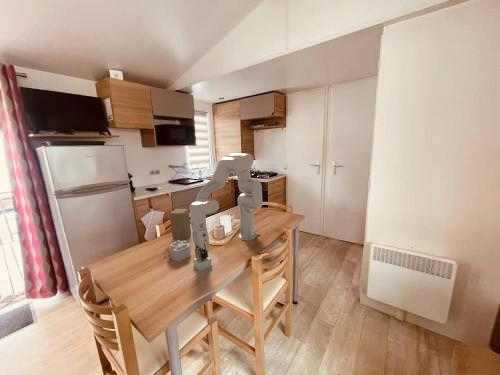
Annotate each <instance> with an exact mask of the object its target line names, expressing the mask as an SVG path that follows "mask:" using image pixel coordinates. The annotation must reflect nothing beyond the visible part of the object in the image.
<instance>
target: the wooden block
mask: <svg viewBox="0 0 500 375" xmlns="http://www.w3.org/2000/svg"><path fill="white" fill-rule="evenodd" d="M169 220H170V227H171V228H170V229H171V236H172V240H174V241H178V240H179V241H186V240H187V239H188V238H189V237H190V236H191V235H192V227H191V218H190V208H175V209H173V210H172V211H171V212H169Z"/></svg>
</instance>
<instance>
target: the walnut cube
mask: <svg viewBox="0 0 500 375" xmlns="http://www.w3.org/2000/svg"><path fill="white" fill-rule="evenodd" d="M204 249H205V248H203V250H204ZM201 253H202V251H201V248H200V247H198V248H194V255H195V257H194V258H197V259H198V260H199V261H201V260H202V257H201ZM208 257H209V250H208V251H207V258H208Z"/></svg>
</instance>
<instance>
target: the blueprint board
mask: <svg viewBox="0 0 500 375" xmlns="http://www.w3.org/2000/svg"><path fill="white" fill-rule="evenodd" d="M191 266H192V268H194V270H196V271H197V272H198V273H202V272H204V271H206V270H208V269H210V268H212V267H214V266H215V264H213V263H212V265H211V266H209V267H207V268H205V269H203V270H201V271H200V270H199V269H198V268H196V267H195V266H194V263H193V264H191Z"/></svg>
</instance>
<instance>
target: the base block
mask: <svg viewBox="0 0 500 375" xmlns="http://www.w3.org/2000/svg"><path fill="white" fill-rule="evenodd" d="M192 259H193V264H194V266H195V267H196V268H198V269H199V270H200V271H201V270H203V269H205V268H207V267H209V266H211V265H212V264H213V262H212V258H211V257H209V256H208V258H206V259H204V260H201V261H199V260H198V259H197V258H196V257H194V258H192Z"/></svg>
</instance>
